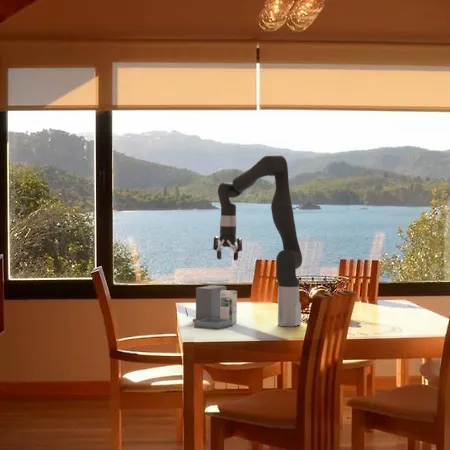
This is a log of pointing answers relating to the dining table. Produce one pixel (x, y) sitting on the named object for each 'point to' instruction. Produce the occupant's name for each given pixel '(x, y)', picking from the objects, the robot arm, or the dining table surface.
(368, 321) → the dining table surface
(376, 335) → the dining table surface
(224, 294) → the syrup box
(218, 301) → the mounted unit
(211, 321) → the tray
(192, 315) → the dining table surface
